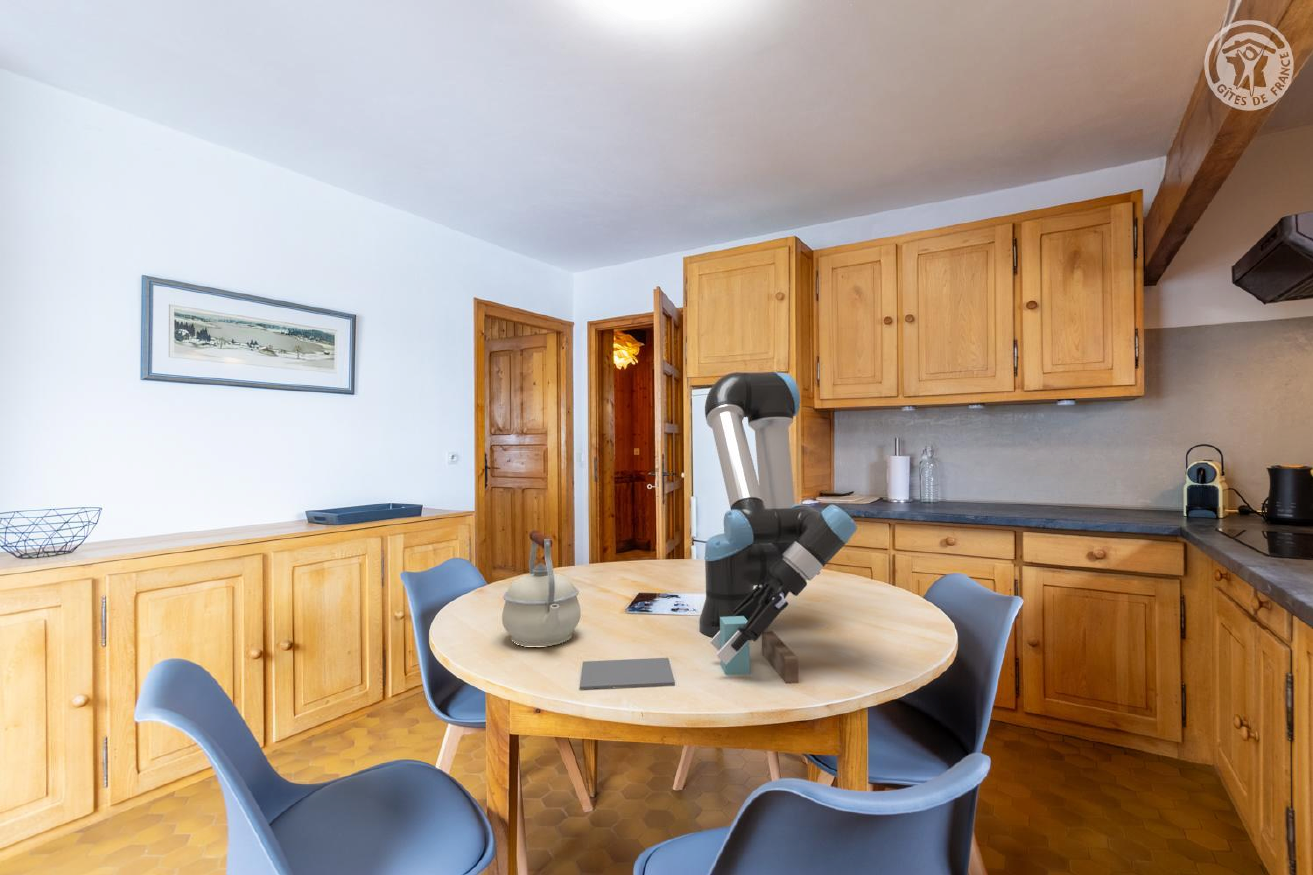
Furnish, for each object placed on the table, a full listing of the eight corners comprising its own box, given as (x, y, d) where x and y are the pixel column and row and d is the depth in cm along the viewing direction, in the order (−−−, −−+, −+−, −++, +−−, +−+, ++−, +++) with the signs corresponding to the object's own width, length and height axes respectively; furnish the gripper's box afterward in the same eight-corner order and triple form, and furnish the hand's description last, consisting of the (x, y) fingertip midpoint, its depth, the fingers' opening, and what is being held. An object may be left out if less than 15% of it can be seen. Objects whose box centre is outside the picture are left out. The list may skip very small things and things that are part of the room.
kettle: (496, 630, 149) (494, 530, 149) (567, 620, 156) (566, 525, 156) (513, 664, 126) (511, 546, 126) (597, 651, 133) (595, 539, 133)
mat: (582, 664, 125) (582, 661, 125) (668, 660, 127) (668, 657, 127) (579, 689, 112) (579, 686, 112) (674, 685, 114) (674, 682, 114)
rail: (762, 654, 130) (761, 631, 130) (772, 654, 130) (772, 631, 130) (785, 684, 114) (785, 658, 114) (798, 683, 114) (797, 657, 114)
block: (720, 665, 123) (719, 616, 124) (744, 664, 124) (743, 615, 124) (725, 674, 118) (724, 624, 119) (750, 673, 119) (749, 623, 119)
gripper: (824, 594, 113) (741, 685, 111) (793, 571, 132) (721, 648, 131) (796, 567, 112) (712, 657, 111) (769, 548, 132) (697, 625, 131)
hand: (717, 652), depth 121 cm, fingers open, 7 cm apart
